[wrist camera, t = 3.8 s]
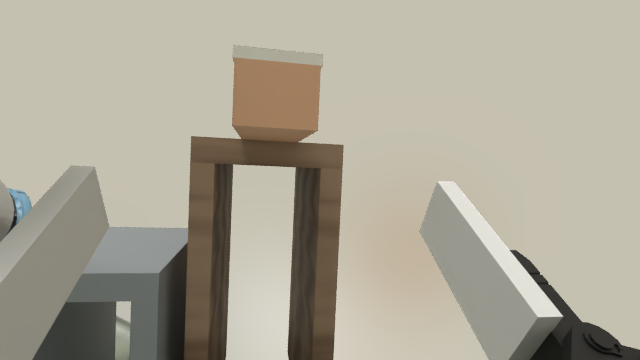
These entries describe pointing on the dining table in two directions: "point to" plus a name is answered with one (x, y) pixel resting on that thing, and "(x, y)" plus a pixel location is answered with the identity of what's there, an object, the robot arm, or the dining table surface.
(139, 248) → the grey bench
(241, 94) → the slim box
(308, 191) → the walnut stand
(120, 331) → the dining table surface
